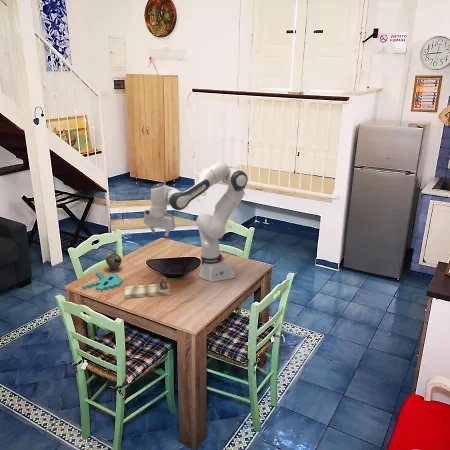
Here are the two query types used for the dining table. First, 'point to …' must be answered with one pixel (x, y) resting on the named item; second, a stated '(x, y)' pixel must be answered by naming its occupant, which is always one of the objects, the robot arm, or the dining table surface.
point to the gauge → (162, 283)
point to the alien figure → (106, 282)
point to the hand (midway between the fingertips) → (159, 234)
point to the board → (146, 291)
